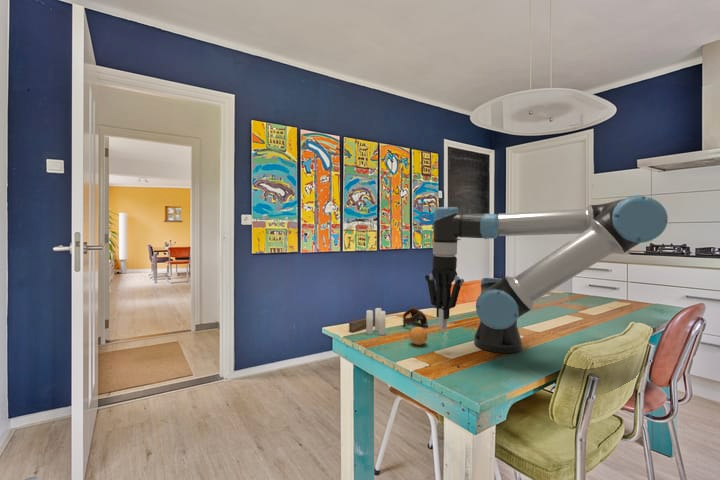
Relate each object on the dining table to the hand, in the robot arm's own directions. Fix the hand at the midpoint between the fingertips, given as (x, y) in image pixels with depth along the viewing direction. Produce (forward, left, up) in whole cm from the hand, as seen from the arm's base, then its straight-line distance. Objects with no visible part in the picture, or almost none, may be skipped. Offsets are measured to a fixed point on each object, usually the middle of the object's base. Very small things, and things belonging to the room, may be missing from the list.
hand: (442, 328), depth 117 cm
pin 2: (+29, -3, -8) cm, 30 cm away
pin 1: (+29, +2, -8) cm, 30 cm away
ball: (+9, 0, -5) cm, 10 cm away
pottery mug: (+23, -19, -8) cm, 30 cm away
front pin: (+25, 0, -8) cm, 26 cm away
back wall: (+35, 0, -8) cm, 36 cm away
